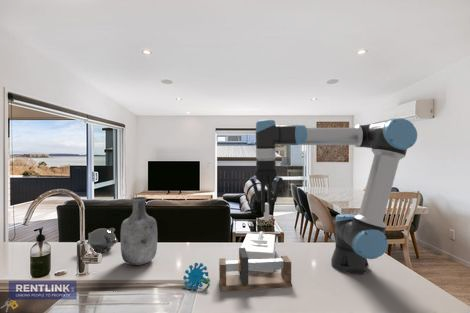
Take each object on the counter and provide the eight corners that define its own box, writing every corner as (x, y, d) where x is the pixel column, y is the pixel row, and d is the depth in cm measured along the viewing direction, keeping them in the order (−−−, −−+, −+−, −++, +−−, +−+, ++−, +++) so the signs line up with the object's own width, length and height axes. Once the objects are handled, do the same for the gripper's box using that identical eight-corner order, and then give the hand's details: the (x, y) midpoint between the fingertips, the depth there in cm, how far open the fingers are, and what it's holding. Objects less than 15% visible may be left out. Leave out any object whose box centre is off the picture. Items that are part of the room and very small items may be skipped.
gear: (177, 282, 101) (191, 258, 107) (183, 288, 105) (197, 264, 111) (200, 294, 96) (214, 267, 101) (206, 299, 100) (219, 274, 105)
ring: (245, 272, 109) (244, 247, 109) (248, 284, 99) (248, 257, 99) (239, 272, 108) (239, 247, 108) (242, 284, 99) (241, 257, 98)
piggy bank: (111, 255, 132) (111, 232, 132) (82, 254, 133) (81, 232, 133) (122, 247, 144) (121, 226, 143) (94, 246, 144) (94, 225, 144)
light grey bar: (284, 265, 107) (284, 257, 107) (287, 269, 103) (287, 260, 103) (222, 268, 105) (222, 260, 104) (222, 272, 101) (222, 263, 101)
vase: (112, 267, 118) (111, 200, 118) (136, 254, 134) (135, 194, 133) (143, 272, 113) (142, 202, 113) (164, 257, 129) (163, 196, 128)
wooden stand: (285, 275, 110) (285, 253, 110) (292, 287, 100) (292, 264, 100) (219, 278, 108) (219, 256, 108) (220, 291, 98) (219, 267, 98)
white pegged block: (239, 270, 115) (239, 245, 115) (247, 249, 140) (247, 228, 140) (273, 273, 113) (273, 247, 113) (275, 251, 137) (275, 230, 137)
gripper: (279, 159, 108) (280, 217, 109) (247, 159, 107) (248, 218, 108) (284, 159, 101) (285, 221, 101) (250, 160, 100) (251, 223, 100)
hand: (266, 220), depth 104 cm, fingers closed
